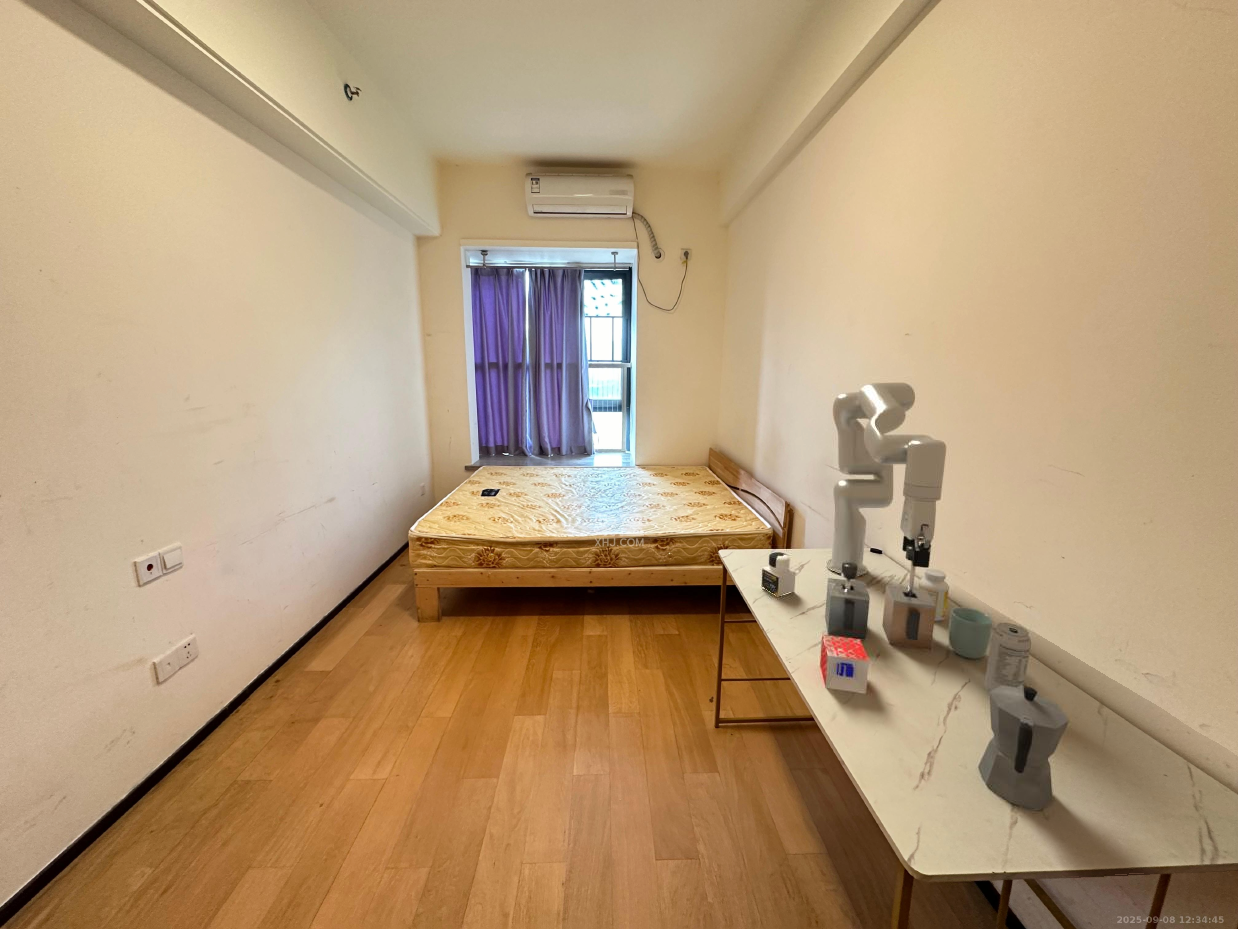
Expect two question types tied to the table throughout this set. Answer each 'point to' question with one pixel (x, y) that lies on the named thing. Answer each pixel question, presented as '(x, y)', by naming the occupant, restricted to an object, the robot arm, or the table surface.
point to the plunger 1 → (849, 572)
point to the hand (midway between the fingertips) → (914, 558)
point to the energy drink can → (1007, 656)
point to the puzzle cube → (844, 664)
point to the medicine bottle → (778, 575)
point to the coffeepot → (1022, 745)
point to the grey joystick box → (847, 609)
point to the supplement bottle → (936, 590)
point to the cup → (969, 632)
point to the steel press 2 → (908, 617)
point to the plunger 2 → (909, 556)
